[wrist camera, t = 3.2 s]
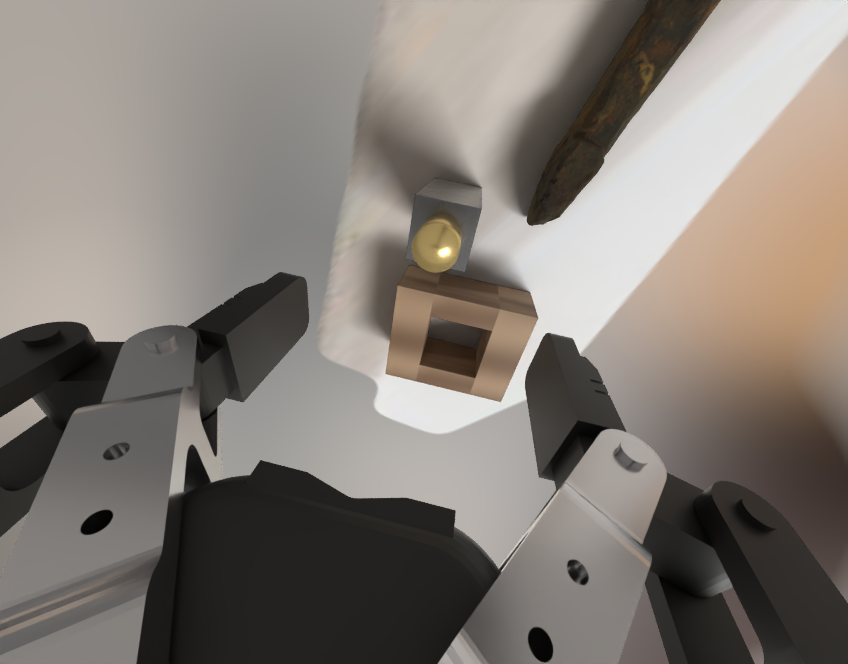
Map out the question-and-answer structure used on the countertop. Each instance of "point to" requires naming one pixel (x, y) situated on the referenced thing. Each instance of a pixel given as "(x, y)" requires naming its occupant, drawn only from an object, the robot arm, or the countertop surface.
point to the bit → (444, 225)
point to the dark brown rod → (617, 100)
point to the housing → (466, 304)
